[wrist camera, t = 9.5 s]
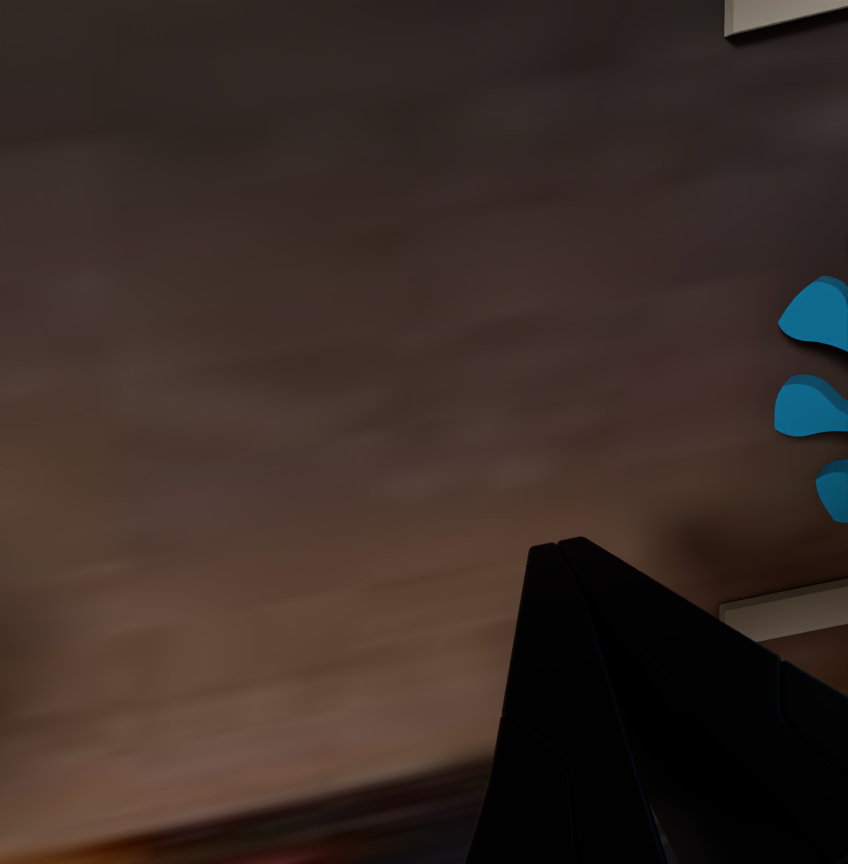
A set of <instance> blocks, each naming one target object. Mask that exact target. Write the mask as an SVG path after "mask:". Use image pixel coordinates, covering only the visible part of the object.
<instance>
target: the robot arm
mask: <svg viewBox="0 0 848 864" xmlns="http://www.w3.org/2000/svg"><path fill="white" fill-rule="evenodd" d="M647 797H648V798H647ZM648 800H649V801H648ZM649 802H650V804H651V806H652V808H653V810H654V812H655V814H656V816H657V818H658V820H659V823H660V825H661V827H662V829H663V831H664V833H665V835H666V837H667V839H668V841H669V844H670V846H671V848H672V850H673V852H674V854H675V856H676V858H677V860H678V862H679V864H848V697H847V696H845V695H844V694H842V693H840V692H838V691H837V690H835V689H833V688H832V687H830V686H828V685H826V684H825V683H823V682H821V681H820V680H818V679H816V678H815V677H813V676H811V675H810V674H808V673H806V672H805V671H803V670H801V669H800V668H798V667H797V666H795V665H793V664H792V663H790V662H788V661H786V660H784V661H782V663H781V658H780V657H779V656H778V655H776V654H775V653H773V652H772V651H770V650H768V649H767V648H765V647H763V646H762V645H760V644H758V643H757V642H755V641H754V640H752V639H750V638H749V637H747V636H745V635H744V634H742V633H740V632H739V631H737V630H736V629H734V628H732V627H731V626H729V625H727V624H726V623H724V622H722V621H721V620H719V619H718V618H716V617H714V616H713V615H711V614H709V613H708V612H706V611H704V610H703V609H701V608H700V607H698V606H696V605H695V604H693V603H691V602H690V601H688V600H687V599H685V598H683V597H682V596H680V595H678V594H677V593H675V592H673V591H672V590H670V589H669V588H667V587H665V586H664V585H662V584H660V583H659V582H657V581H655V580H654V579H652V578H651V577H649V576H647V575H646V574H644V573H642V572H641V571H639V570H637V569H636V568H634V567H633V566H631V565H629V564H628V563H626V562H624V561H623V560H621V559H619V558H618V557H616V556H615V555H613V554H611V553H610V552H608V551H606V550H605V549H603V548H601V547H600V546H598V545H597V544H595V543H593V542H592V541H590V540H588V539H587V538H585V537H575V538H570V539H565V540H561V541H559V542H558V543H557V545H556V544H555V543H553V542H551V543H546V544H541V545H536V546H532V547H531V548H530V549H529V553H528V559H527V565H526V571H525V576H524V582H523V588H522V594H521V600H520V606H519V612H518V618H517V624H516V630H515V636H514V642H513V648H512V654H511V660H510V666H509V672H508V678H507V684H506V690H505V696H504V702H503V708H502V717H501V718H500V723H499V729H498V735H497V741H496V746H495V751H494V756H493V761H492V765H491V770H490V775H489V780H488V784H487V787H486V791H485V795H484V798H483V802H482V805H481V809H480V812H479V816H478V820H477V823H476V827H475V830H474V833H473V836H472V839H471V842H470V845H469V849H468V852H467V855H466V858H465V861H464V864H668V863H667V860H666V856H665V853H664V850H663V847H662V843H661V840H660V837H659V834H658V830H657V827H656V824H655V821H654V817H653V814H652V811H651V808H650V804H649Z"/></svg>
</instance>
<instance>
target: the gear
mask: <svg viewBox="0 0 848 864" xmlns="http://www.w3.org/2000/svg"><path fill="white" fill-rule="evenodd" d="M778 324H779V325H780V327H781V329H782V330H783V331H784V332H785V333H786V334H787V335H789V336H791V337H793V338H795V339H798V340H802V341H815V342H821V343H825V344H829V345H833V346H835V347H838V348H841V349H843V350H846V351H847V352H848V286H847V285H845V284H844V283H843V282H842V281H840V280H838V279H836V278H832V277H828V276H821V277H819V278H818V279H817V280H815V281H814V282H812V283H811V284H810V285H808V286H807V287H806V288H805V289H803V290H802V291H801V292H800V293H799V294H798V295H797V296H796V297H795V299H794V300H793V301H792V302H791V304H790V305H789V306H788V308H787V309H786V311H785V312H784V314H783V315H782V317H781V319H780V320H779V322H778ZM775 429H776V430H778V431H780V432H781V433H784V434H787V435H790V436H807V435H811V434H815V433H819V432H828V431H848V401H847V400H845V399H844V398H843V397H841V396H840V395H839V394H838V393H837V392H836V391H835V390H834V389H833V388H832V387H831V385H830V384H828V383H827V382H826V381H825V380H823V379H821V378H819V377H816V376H812V375H796V376H792V377H790V378H789V380H788V381H787V382H786V383H785V384H784V386H783V387H782V389H781V391H780V393H779V394H778V398H777V401H776V406H775ZM816 486H817V491H818V494H819V497H820V499H821V501H822V502H823V504H824V506H825V508H826V509H827V511H828V512H829V514H830V515H831V516H832V518H833V519H834V521H838V522H842V523H848V459H843V460H836V461H832V462H830V463H828V464H826V465H825V466H823V467H822V469H821V471H820V473H819V475H818V477H817V479H816Z"/></svg>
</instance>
